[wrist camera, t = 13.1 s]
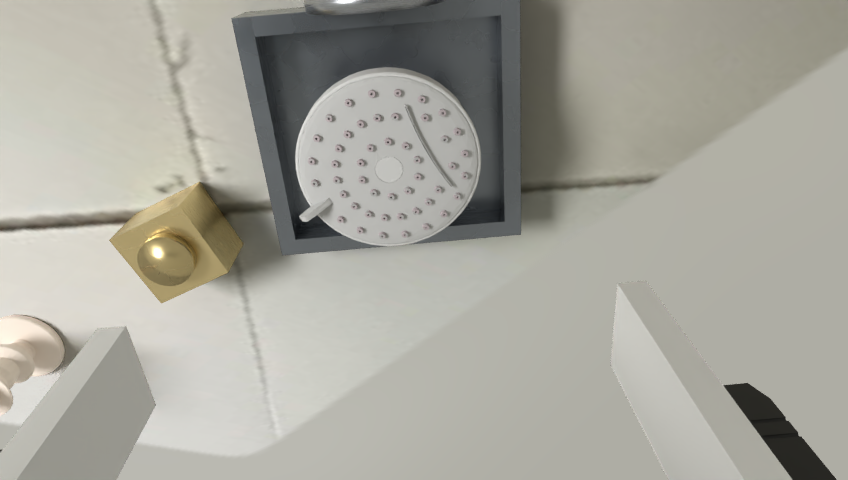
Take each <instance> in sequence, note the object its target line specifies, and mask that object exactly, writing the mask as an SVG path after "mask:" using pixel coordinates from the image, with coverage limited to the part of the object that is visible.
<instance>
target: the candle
mask: <svg viewBox="0 0 848 480" xmlns="http://www.w3.org/2000/svg"><path fill="white" fill-rule="evenodd" d="M64 353H65V349H64V345H63V342H62V340H61V338H60V337H59V335H58V334H57V333H56V332H55V331H54V330H53V329H52V328H51V327H50V326H48V325H47V324H46V323H44V322H42V321H40V320H38V319H35V318H32V317H28V316H24V315H11V316H6V317H3V318H1V319H0V416H1V415H3V414H5V413H6V412H7V411H9V410H10V408H11V406H12V404H13V396H12V393H11V391H10V388H11V387H12V386H13V385H14V383H21V382H24V381H26V380H28V379H29V378H30V377H31V376H42V375H46V374H49V373H51V372H53V371H54V370H55V369H56V368H57V367H58V366H59V365H60V364H61V362H62V360H63V358H64Z"/></svg>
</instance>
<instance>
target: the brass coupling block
mask: <svg viewBox="0 0 848 480" xmlns="http://www.w3.org/2000/svg"><path fill="white" fill-rule="evenodd" d="M109 241H110V242H111V243H112V244H113V245H114V247H115V248H116V249H117V250H118V251H119V253H120V254H121V255H122V256H123V258H124V259H125V260H126V261H127V262H128V264H129V265H130V266H131V267H132V268H133V270H134V271H135V272H136V273H137V275H138V276H139V277H140V278H141V279H142V281H143V282H144V283H145V284H146V285H147V287H148V288H149V289H150V290H151V292H152V293H153V294H154V295H155V296H156V298H157V299H158V300H159V301H160V302H161V303H163V302H166V301H168V300H170V299H172V298H174V297H176V296H179V295H181V294H183V293H185V292H187V291H189V290H192V289H194V288H196V287H198V286H200V285H202V284H205V283H207V282H209V281H211V280H213V279H215V278H218V277H220V276H222V275H224V274H226V273H228V272H229V270H230V268H231V267H232V265H233V263H234V261H235V259H236V257H237V255H238V253H239V251H240V250H241V248H242V246H243V242H242V241H241V240H240V238H239V237H238V235H237V234H236V232H235V231H234V230H233V228H232V227H231V225H230V224H229V223H228V221H227V220H226V218H225V217H224V215H223V214H222V213H221V211H220V210H219V208H218V207H217V206H216V204H215V203H214V201H213V200H212V198H211V197H210V196H209V194H208V193H207V191H206V190H205V189H204V187H203V186H202V184H201V183H200V182H198V183H196V184H194V185H192V186H190V187H188V188H186V189H184V190H182V191H180V192H178V193H176V194H174V195H172V196H170V197H168V198H166V199H164V200H162V201H160V202H158V203H156V204H154V205H152V206H150V207H148V208H146V209H144V210H142V211H140V212H138V213H136V214H135V215H134V216H133V217H132V218H131V219H130V220H129V221H128V222H127V223H126V224H125V225H124V226H123V227H122V228H121V229H120V230H119V231H118V232H117V233H116V234H115V235H114V236H113V237H112V238H111V239H110V240H109Z"/></svg>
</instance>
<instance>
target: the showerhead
mask: <svg viewBox="0 0 848 480" xmlns="http://www.w3.org/2000/svg"><path fill="white" fill-rule="evenodd" d="M295 162H296V172H297V177H298V181H299V184H300V187H301V189H302V192H303V194H304V196H305V198H306V200H307V202H308V203H309V205H310V206H311V207H309V208H308V209H307V210H306V211H305V212H303V213H302V214H301V215H300V216H299V217H300V219H301V220H302V221H303V222H307V221H309V220H311V219H312V218H314V217H315V216H316V215H318V216H319V217H320V218H321V219H322V220H323V221H324V222H325V223H326V224H328V225H329V226H330V227H331V228H333V229H334V230H336V231H337V232H339V233H341V234H342V235H344V236H347V237H349V238H351V239H353V240H356V241H359V242H363V243H367V244H371V245H379V246H399V245H406V244H411V243H415V242H418V241H421V240H424V239H427V238H429V237H431V236H433V235H435V234H437V233H438V232H440V231H442V230H443V229H445V228H446V227H447V226H449V225H450V224H451V223H452V222H453V221H454V220H455V219H456V218H457V217H458V216H459V215H460V214H461V213H462V212H463V210H464V209H465V208H466V206H467V205H468V203H469V202H470V200H471V198H472V196H473V194H474V192H475V189H476V187H477V183H478V180H479V175H480V169H481V150H480V144H479V139H478V136H477V133H476V130H475V127H474V125H473V123H472V121H471V119H470V117H469V115H468V114H467V112H466V110H465V109H464V107H463V106H462V105H461V103H460V102H459V100H458V99H457V98H456V97H455V96H454V95H453V94H452V93H451V92H450V91H449V90H448V89H446V88H445V87H444V86H443V85H441V84H440V83H439V82H437V81H435V80H434V79H432V78H430V77H428V76H426V75H423V74H421V73H418V72H415V71H412V70H408V69H402V68H394V67H383V68H374V69H367V70H363V71H360V72H357V73H354V74H352V75H349V76H347V77H345V78H344V79H342V80H340V81H338V82H337V83H335V84H334V85H332V86H331V87H330V88H329V89H327V90H326V91H325V92H324V93H323V94H322V96H321V97H320V98H319V99H318V100H317V101H316V102H315V104H314V105H313V107H312V108H311V110H310V111H309V113H308V115H307V117H306V119H305V121H304V123H303V125H302V128H301V130H300V133H299V136H298V140H297V145H296V156H295Z"/></svg>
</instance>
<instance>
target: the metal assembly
mask: <svg viewBox="0 0 848 480" xmlns="http://www.w3.org/2000/svg"><path fill="white" fill-rule="evenodd" d="M304 5H305V7H301V8H290V9H278V10H267V11H256V12H245V13H243V14H240V15H238V16H236V17H233V18H231V19H232V23H233V28H234V33H235V37H236V42H237V47H238V51H239V56H240V61H241V65H242V70H243V75H244V79H245V84H246V89H247V93H248V98H249V103H250V107H251V112H252V117H253V121H254V126H255V131H256V135H257V140H258V144H259V149H260V154H261V158H262V163H263V168H264V172H265V177H266V182H267V186H268V191H269V196H270V200H271V205H272V210H273V214H274V219H275V224H276V228H277V233H278V238H279V242H280V247H281V252H282V255H292V254H304V253H315V252H326V251H338V250H349V249H361V248H372V247H384V246H379V245H371V244H367V243H363V242H359V241H356V240H353V239H351V238H349V237H347V236H344V235H342V234H341V233H339V232H337V231H336V230H334V229H333V228H331V227H330V226H329V225H328V224H326V223H325V222H324V221H323V220H322V219H321V218H320V217H319V216H318V215H316V216H315V217H314V218H312V219H311V220H309V221H307V222H303V221H302V220H301V219H300V217H299V216H300V215H301V214H302V213H303V212H305V211H306V210H307V209H308V208H309V207H311V206H310V205H309V203H308V202H307V200H306V198H305V196H304V194H303V192H302V189H301V187H300V184H299V181H298V177H297V172H296V162H295V156H296V145H297V140H298V136H299V133H300V130H301V128H302V125H303V123H304V121H305V119H306V117H307V115H308V113H309V111H310V110H311V108H312V107H313V105H314V104H315V102H316V101H317V100H318V99H319V98H320V97H321V96H322V94H323V93H324V92H325V91H326V90H327V89H329V88H330V87H331V86H332V85H334V84H335V83H337V82H338V81H340V80H342V79H344V78H345V77H347V76H349V75H352V74H354V73H357V72H360V71H363V70H367V69H374V68H383V67H394V68H402V69H408V70H412V71H415V72H418V73H421V74H423V75H426V76H428V77H430V78H432V79H434V80H435V81H437V82H439V83H440V84H441V85H443V86H444V87H445V88H446V89H448V90H449V91H450V92H451V93H452V94H453V95H454V96H455V97H456V98H457V99H458V100H459V102H460V103H461V105H462V106H463V107H464V109H465V110H466V112H467V114H468V115H469V117H470V119H471V121H472V123H473V125H474V127H475V130H476V133H477V136H478V139H479V144H480V150H481V169H480V175H479V180H478V183H477V187H476V189H475V192H474V194H473V196H472V198H471V200H470V202H469V203H468V205H467V206H466V208H465V209H464V210H463V212H462V213H461V214H460V215H459V216H458V217H457V218H456V219H455V220H454V221H453V222H452V223H451V224H450V225H449V226H447V227H446V228H445V229H443V230H442V231H440V232H438V233H437V234H435V235H433V236H431V237H429V238H427V239H424V240H421V241H418V242H415V243H411V244H418V243H430V242H441V241H453V240H464V239H476V238H487V237H499V236H510V235H521V113H520V0H304ZM406 245H407V244H406Z"/></svg>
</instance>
